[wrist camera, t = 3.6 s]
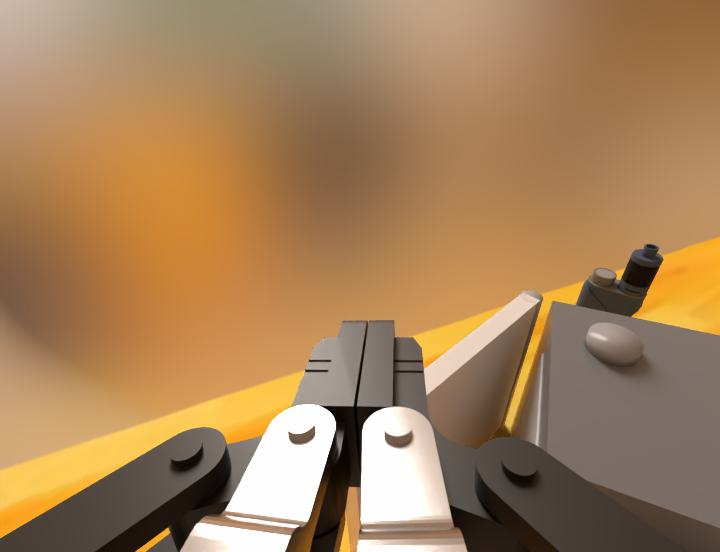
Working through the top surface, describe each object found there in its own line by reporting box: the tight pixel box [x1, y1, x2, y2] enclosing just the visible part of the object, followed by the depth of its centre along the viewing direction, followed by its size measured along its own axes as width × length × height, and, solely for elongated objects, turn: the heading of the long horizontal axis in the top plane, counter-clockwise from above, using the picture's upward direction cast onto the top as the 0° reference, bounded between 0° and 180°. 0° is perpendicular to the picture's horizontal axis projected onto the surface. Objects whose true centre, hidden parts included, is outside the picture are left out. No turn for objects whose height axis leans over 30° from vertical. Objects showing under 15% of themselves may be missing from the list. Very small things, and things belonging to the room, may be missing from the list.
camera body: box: [510, 301, 720, 552], centre depth 21 cm, size 9×14×15 cm, turn 156°
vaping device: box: [576, 244, 663, 317], centre depth 37 cm, size 3×5×12 cm, turn 52°
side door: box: [345, 290, 543, 552], centre depth 25 cm, size 2×17×14 cm, turn 131°
